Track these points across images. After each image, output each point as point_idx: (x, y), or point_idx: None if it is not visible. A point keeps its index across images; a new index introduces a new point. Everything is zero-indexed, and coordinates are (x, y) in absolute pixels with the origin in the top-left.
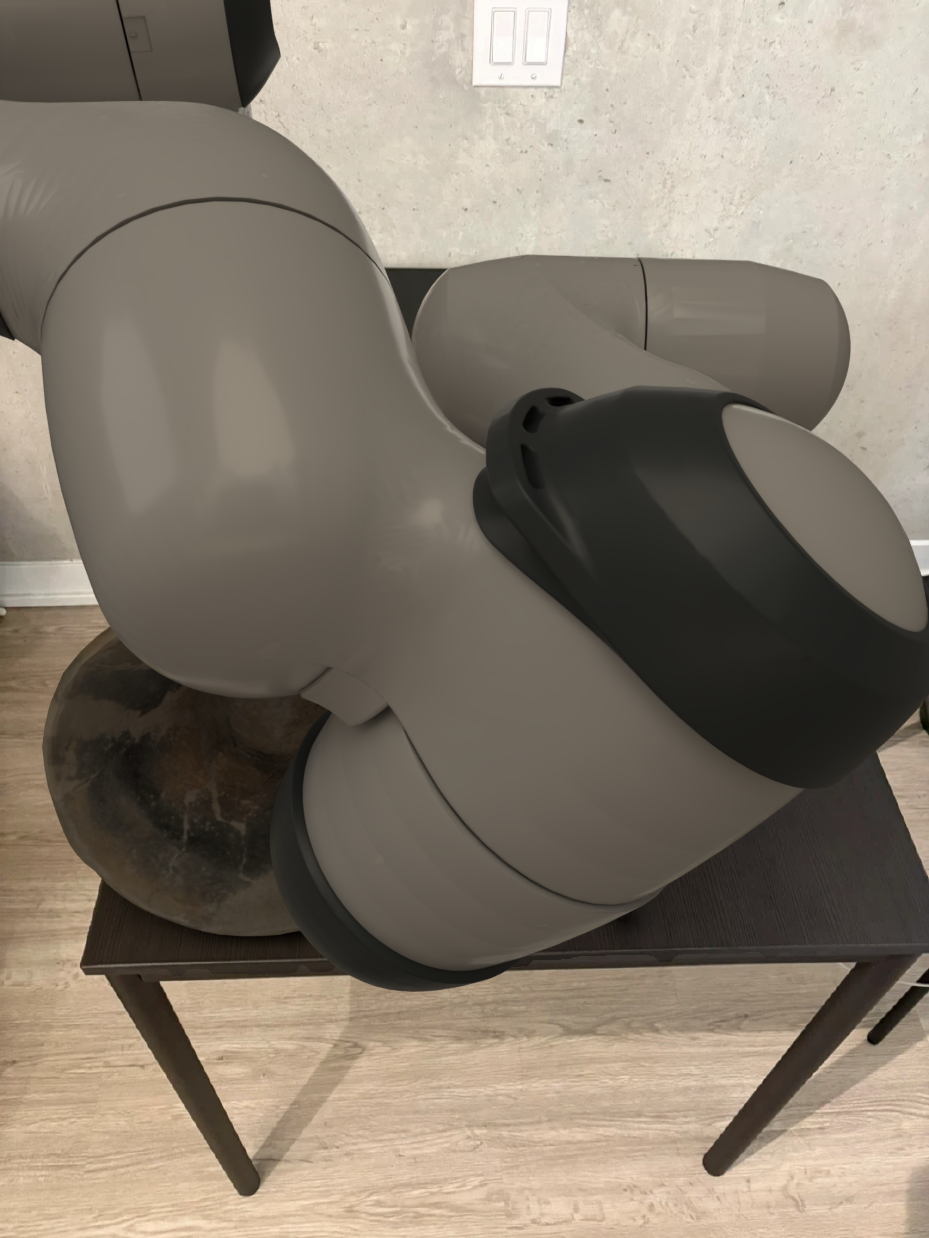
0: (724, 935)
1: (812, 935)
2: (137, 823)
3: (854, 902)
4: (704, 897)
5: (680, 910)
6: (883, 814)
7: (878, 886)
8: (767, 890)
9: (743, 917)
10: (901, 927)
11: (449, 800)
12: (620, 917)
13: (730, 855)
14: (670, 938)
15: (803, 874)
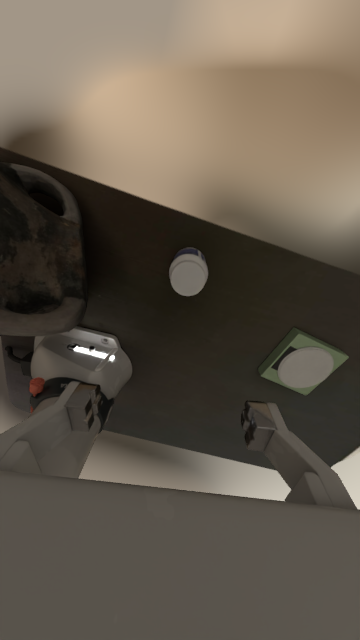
0: (6, 367)
1: (8, 385)
2: None
3: (18, 397)
4: (18, 368)
5: (13, 361)
6: None
7: (23, 404)
8: (21, 382)
9: (12, 374)
10: (12, 402)
11: None
12: (6, 346)
13: (32, 379)
14: (4, 355)
15: (26, 392)
